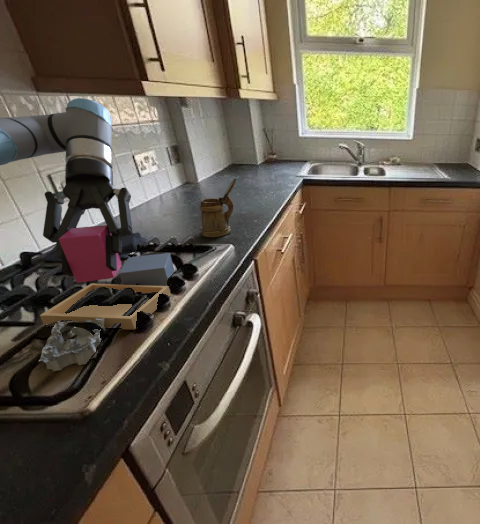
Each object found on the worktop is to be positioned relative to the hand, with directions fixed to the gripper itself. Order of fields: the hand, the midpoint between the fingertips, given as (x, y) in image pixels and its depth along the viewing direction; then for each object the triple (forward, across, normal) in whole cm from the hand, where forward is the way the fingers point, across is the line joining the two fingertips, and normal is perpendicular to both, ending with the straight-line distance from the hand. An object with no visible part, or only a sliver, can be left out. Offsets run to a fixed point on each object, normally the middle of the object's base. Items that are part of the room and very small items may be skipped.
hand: (90, 270), depth 62 cm
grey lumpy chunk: (+14, +2, -2) cm, 15 cm away
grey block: (-3, -5, -19) cm, 20 cm away
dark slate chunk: (-21, +12, -36) cm, 43 cm away
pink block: (-1, 0, -4) cm, 4 cm away
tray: (+5, 0, -10) cm, 12 cm away
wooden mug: (-25, -21, -41) cm, 53 cm away
